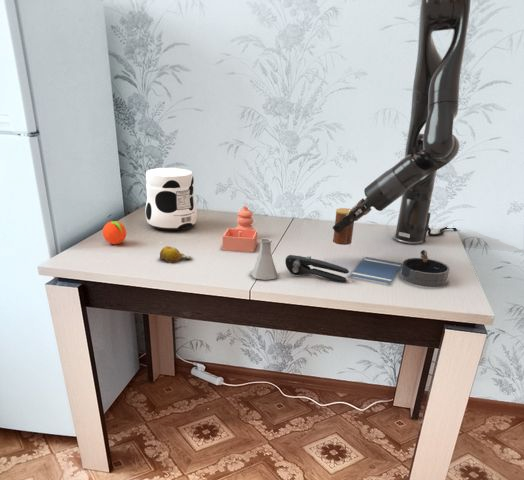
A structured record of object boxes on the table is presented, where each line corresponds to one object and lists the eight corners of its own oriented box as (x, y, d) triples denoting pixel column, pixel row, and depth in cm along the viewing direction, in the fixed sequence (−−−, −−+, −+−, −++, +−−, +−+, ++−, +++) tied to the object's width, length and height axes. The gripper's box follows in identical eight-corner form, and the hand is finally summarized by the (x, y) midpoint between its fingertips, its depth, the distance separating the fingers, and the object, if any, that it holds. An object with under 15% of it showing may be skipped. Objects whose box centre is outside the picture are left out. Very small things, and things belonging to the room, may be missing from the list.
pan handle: (427, 266, 142) (428, 260, 141) (421, 265, 142) (422, 259, 141) (426, 255, 150) (427, 249, 149) (419, 254, 150) (421, 248, 149)
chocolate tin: (345, 238, 147) (349, 207, 143) (355, 244, 143) (359, 212, 138) (329, 240, 145) (332, 208, 141) (338, 245, 141) (342, 213, 136)
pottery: (253, 252, 153) (254, 220, 148) (222, 249, 154) (222, 217, 149) (260, 235, 169) (261, 205, 164) (232, 233, 169) (232, 203, 165)
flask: (250, 270, 139) (251, 235, 134) (276, 270, 140) (277, 235, 135) (251, 280, 133) (252, 243, 128) (278, 280, 134) (281, 244, 129)
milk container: (155, 218, 182) (152, 165, 173) (202, 221, 180) (201, 169, 171) (139, 231, 167) (134, 175, 158) (189, 235, 165) (188, 178, 156)
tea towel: (366, 258, 153) (366, 256, 152) (402, 264, 149) (402, 263, 148) (349, 277, 138) (349, 275, 138) (389, 284, 134) (389, 283, 134)
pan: (426, 269, 146) (429, 256, 144) (456, 285, 136) (459, 271, 134) (391, 274, 142) (393, 260, 140) (419, 290, 132) (422, 276, 130)
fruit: (193, 259, 146) (193, 246, 144) (171, 265, 140) (170, 253, 138) (175, 252, 150) (174, 240, 149) (153, 258, 145) (152, 246, 143)
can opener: (280, 276, 137) (281, 256, 134) (288, 268, 143) (289, 248, 140) (344, 287, 132) (347, 267, 129) (350, 278, 137) (352, 258, 135)
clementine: (133, 245, 154) (131, 222, 151) (113, 249, 150) (110, 226, 146) (119, 238, 159) (117, 216, 156) (99, 243, 155) (96, 220, 151)
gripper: (382, 173, 138) (335, 211, 148) (372, 182, 127) (322, 223, 136) (398, 195, 139) (351, 231, 149) (390, 206, 128) (339, 245, 137)
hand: (337, 227), depth 143 cm, fingers closed on chocolate tin, 5 cm apart
